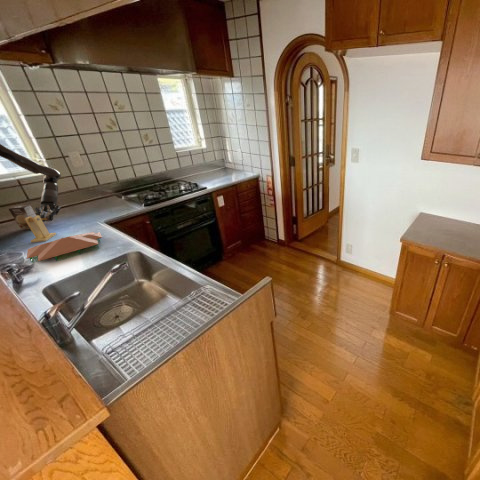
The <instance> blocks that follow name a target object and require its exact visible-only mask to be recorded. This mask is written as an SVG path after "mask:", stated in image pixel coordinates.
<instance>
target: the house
mask: <svg viewBox="0 0 480 480" xmlns="http://www.w3.org/2000/svg"><path fill="white" fill-rule="evenodd" d="M102 238H103V236H102V234H101V232H94V231H91V232H85V233H81V234H80V233H79V234H74V235H69V236H65V237H62V238H58V239H54V240H53V241H49V242H44V243H41V244H38V245H35V246H31V247H29V248H27V252H26V260H28V259H29V260H30V261H31V259H32V257H33V258H34V259H33V261H34V262H35V260H36V259H37V262H41V261H45V260H48V259H51V258H54V259H55V261H56V262H58V261H60V256H62V257H61V258H62V259H61V261H62V260H66V259H67V257H69V256H68V255H70V253H71V257H74V256H75V254H77V255H82V254H83V255H84V249H85V251H88V252H91V248H90V247H92V249H95V251H96V250H98V249H100V247H99V243H100V242H101V239H102ZM95 246H96V247H97V248H95ZM89 250H90V251H89ZM33 261H32V262H33Z"/></svg>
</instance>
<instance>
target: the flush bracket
mask: <svg viewBox="0 0 480 480" xmlns="http://www.w3.org/2000/svg"><path fill="white" fill-rule="evenodd" d="M40 217H41V216H39V215H36V216H35V217H33V218H32V216H29V217H27V218H25V221H26V222H27V224H28V226H29V227H30V229H29V230H31V233H32V234H33V235H34V237H35V238H33V239H31V240H30V243H43V242H47V241H49V240H50V239H52V238H53V237H54V236H56V235H57V232H49V230H48V228H47V226H46V225H45V223H44V222H43V221H42V220H41V218H40ZM29 218H32V219H33V221H34V222H30V221H29Z"/></svg>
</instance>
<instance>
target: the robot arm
mask: <svg viewBox="0 0 480 480" xmlns="http://www.w3.org/2000/svg"><path fill="white" fill-rule="evenodd" d="M0 157H1V158H3V159H4V160H8V161H10V162H11V163H13V164H15V165H16V166H18V167H20V168H22V169H24V170H26V171H28V172H31V173H32V174H35V175H38V174H40V175H43V178H42V180H43V185H42V192H41V196H40V206H39V207H37V206H36V207H34V210H35V214H36V216H38V215H39V216H40V218H44V217H46V216H47V214H48V216H49V217H48V220H49V222H52V221H53V220H54V216H57V215H58V214H59V212H60V210H61V209H62V207H61V206H60V205H58V199H59V194H58V193H59V185H58V181H59V180H60V178H62V175H61V172H59V171H58V169H55V168H52V167H49V166H47V165H42V164H40V163H38V162H37V161H34V160H32V159H30V158H28V157H26V156H24V155H22V154H19V153H17V152H15V151H14V150H11V149H10V148H8V147H6V146H5V145H3V144H1V143H0ZM42 221H43V223H44V222H46V221H45V220H42Z"/></svg>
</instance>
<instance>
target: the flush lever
mask: <svg viewBox="0 0 480 480" xmlns="http://www.w3.org/2000/svg"><path fill="white" fill-rule="evenodd" d="M48 217H49V215H46V216H45V217H44V218H41V220H45V222H50V221H49V220H48ZM29 221H30V222H34V221H33V219H32V218H29Z"/></svg>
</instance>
